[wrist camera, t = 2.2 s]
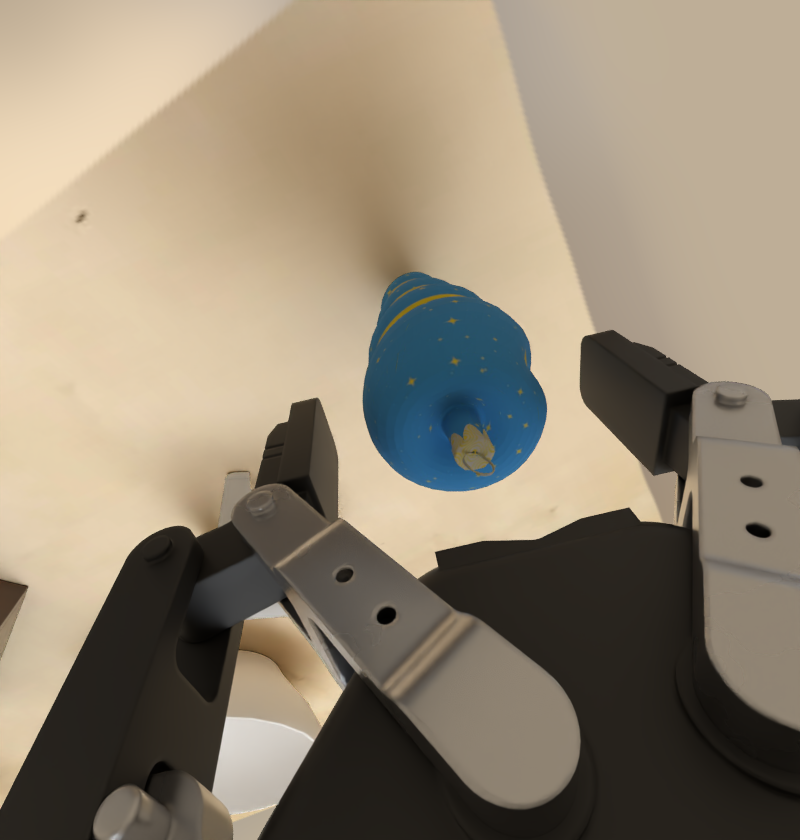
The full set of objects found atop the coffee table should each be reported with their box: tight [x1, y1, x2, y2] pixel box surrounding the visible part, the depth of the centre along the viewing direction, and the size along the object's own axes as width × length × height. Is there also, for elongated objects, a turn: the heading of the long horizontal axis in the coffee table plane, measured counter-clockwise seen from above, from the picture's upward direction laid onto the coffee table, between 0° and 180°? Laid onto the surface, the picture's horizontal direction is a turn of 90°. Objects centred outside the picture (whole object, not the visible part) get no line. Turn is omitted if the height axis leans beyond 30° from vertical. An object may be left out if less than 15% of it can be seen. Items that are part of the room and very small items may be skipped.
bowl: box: [212, 650, 322, 815], centre depth 35 cm, size 16×16×7 cm
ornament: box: [363, 272, 547, 491], centre depth 16 cm, size 5×5×15 cm
